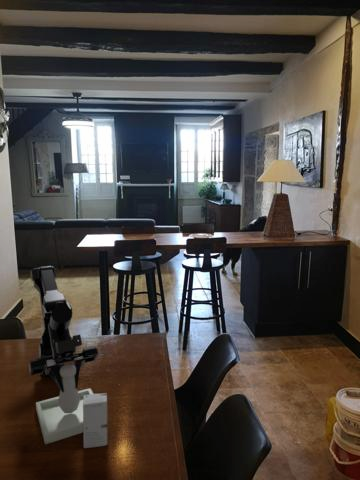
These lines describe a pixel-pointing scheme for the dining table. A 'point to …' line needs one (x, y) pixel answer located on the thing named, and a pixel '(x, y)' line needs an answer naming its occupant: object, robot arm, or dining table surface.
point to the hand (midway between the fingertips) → (69, 390)
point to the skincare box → (95, 420)
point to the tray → (60, 418)
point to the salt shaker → (68, 390)
